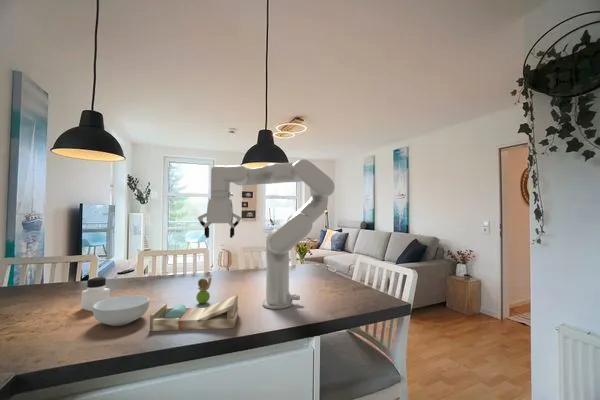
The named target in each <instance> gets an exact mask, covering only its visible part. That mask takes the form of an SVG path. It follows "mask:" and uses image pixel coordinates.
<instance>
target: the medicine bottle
mask: <svg viewBox="0 0 600 400" xmlns="http://www.w3.org/2000/svg"><path fill="white" fill-rule="evenodd" d="M106 282H107V278H106V277H104V276H94V277H91V278H89V279H87V285H86V286H87V288H86V289H85V290H82V291H81V299H80V301H81V303H80V305H81V306H80V310H83V309H84V311H88V312H92V313H93V306H94V304H96V303H97V302H99V301H102V300H105V299H108V298H111V291H112V290H111V289H110V288H107V287H106V286H107V284H106Z"/></svg>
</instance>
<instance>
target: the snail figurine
mask: <svg viewBox="0 0 600 400" xmlns="http://www.w3.org/2000/svg"><path fill="white" fill-rule="evenodd" d="M212 276H213V275H212V274H211V275H209V278H208V279H205V278H204V277H202V278H200V279H199V280H198V282H197V285H198V287H197V289H198V290H199V292H197V294H196V301H197V302H198V303H199V304H203V305H204V304H206V303H207V302H209V300H210V297H211V295H210V292H209V291H208V290H209V289H210V287H211V283H212Z"/></svg>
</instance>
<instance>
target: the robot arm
mask: <svg viewBox="0 0 600 400" xmlns="http://www.w3.org/2000/svg"><path fill="white" fill-rule="evenodd" d="M299 182H300V183H301V182H303V183H304V184H305V185H306V186H308V187H309V192H310V197H309V200H307V202H306V203H305V204H303V205H302V206H301V207H300V208H299V209H297V211H295V212H294V213H292V214H291V215H290V216H289V217H288V218H287V220H286V222H285V223H283V224H282V225H281V226H280V227H279V228H275V229H272V230H271V231H270V232H269V233H268V234H267V236H266V241H265V243H266V244H265V245H266V273H265V275H266V280H265V281H266V283H265V284H266V287H265V292H266V293H265V295H266V297H265V299H263V300H262V306H263V308H264V307H265V308H267V309H272V310H280V309H288V308H289V307H292V306H293V301H300V299H301V297H300V295H299V294H296V293H295V294H292V293H290V251H291V250H292V249H294V248H295V247H296V246H298V244H299V243H300V242H301V241H303V240H304V239H305V238H306V237H307V236H308V235H309V234H310V233H311V231H312V228H313V224H314V223H315V222H316V221H317V220H318V219H319V218H320V217H321V216H322V215H323V214H324V213H325V211H326V210H327V209H328V208H327V206H328V203H329V197H331V196H332V194H333V193H334V192H335V189H336V188H335V183H334V180H333V179H332V178H331V177H330V176H329V175H328V174H326V173H325V172H324V171H323V170H321V169H320V168H319V167H318V166H317V165H315V164H314V163H312V162H311V161H310V160H308V159H303V158H301V159H298V160H297V161H296V162H295V161H294V162H276V163H275V162H274V163H268V164H267V165H264V166H259V167H253V168H246V166H243V165H241V164H240V165H238V164H236V165H226V166H225V165H214V166H212V167H211V169H210V199H208V202H207V208H206V213H204V214H201V215H200V216H198V217H197V220H198V221H199V223H200V225H201V226H202V227H203V228H204V233H203V234H204V237H205V239H208V238H210V227H209V226H210V225H212V224H228V225H229V226H230V229H229V238H231V239H232V238H233V237H234V236H235V228H236V227H237V226H238V225H239V224H240V222H241V220H242V216H239V215H238V214H236V213H234V210H233V209H234V207H233V201H232V199H231V198H232V197H234V192H231V191H230V189H231V183H232V184H234V185H236V186H256V185H268V184H269V185H271V184H281V183H299ZM204 218H206V221H204V220H203V219H204ZM234 218H235V219H236V221H235V222H233V220H234Z"/></svg>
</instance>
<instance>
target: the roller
mask: <svg viewBox="0 0 600 400" xmlns="http://www.w3.org/2000/svg"><path fill="white" fill-rule="evenodd" d="M173 307H174V308H173V309H172V310H171V311H170V312H168V313H167V314H166V316H165V318H181V317H182V316H183V315H184V314H185V312H186V311H187V308H186V307H187V306H186V305H184V304H183V303H182V304H181V303H179V304H177V305H175V306H173Z"/></svg>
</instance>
